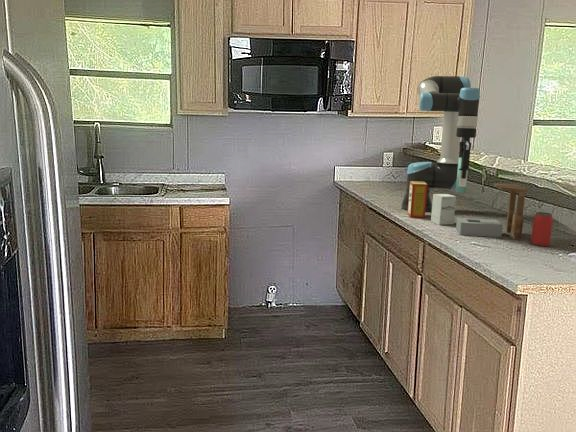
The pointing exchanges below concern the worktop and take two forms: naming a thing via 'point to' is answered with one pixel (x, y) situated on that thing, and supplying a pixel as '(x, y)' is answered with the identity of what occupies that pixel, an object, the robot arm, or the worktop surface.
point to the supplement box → (443, 209)
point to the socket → (479, 227)
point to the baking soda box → (417, 199)
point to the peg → (458, 188)
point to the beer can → (542, 229)
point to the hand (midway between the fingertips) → (461, 185)
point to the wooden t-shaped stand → (513, 219)
